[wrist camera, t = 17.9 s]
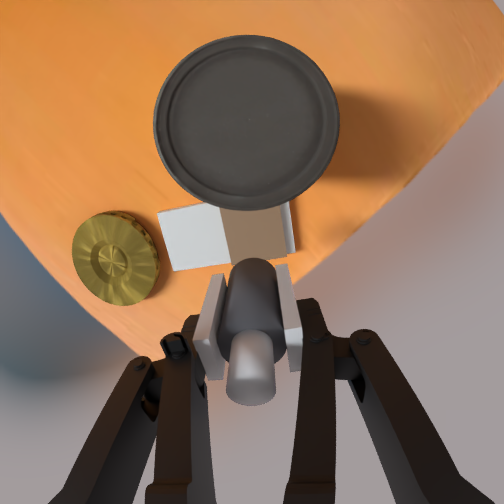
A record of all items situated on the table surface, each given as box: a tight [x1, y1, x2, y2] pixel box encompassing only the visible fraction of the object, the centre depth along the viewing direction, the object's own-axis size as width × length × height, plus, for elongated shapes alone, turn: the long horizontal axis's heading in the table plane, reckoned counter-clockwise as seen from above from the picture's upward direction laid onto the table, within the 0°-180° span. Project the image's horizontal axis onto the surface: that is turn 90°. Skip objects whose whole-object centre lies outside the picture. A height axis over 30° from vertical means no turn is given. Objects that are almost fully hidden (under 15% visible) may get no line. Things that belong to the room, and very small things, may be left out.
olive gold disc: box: [72, 211, 160, 306], centre depth 31 cm, size 12×12×2 cm
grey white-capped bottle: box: [217, 258, 287, 406], centre depth 15 cm, size 3×3×10 cm
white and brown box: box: [157, 201, 295, 271], centre depth 30 cm, size 7×14×2 cm, turn 100°
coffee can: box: [153, 35, 340, 211], centre depth 20 cm, size 10×10×14 cm
